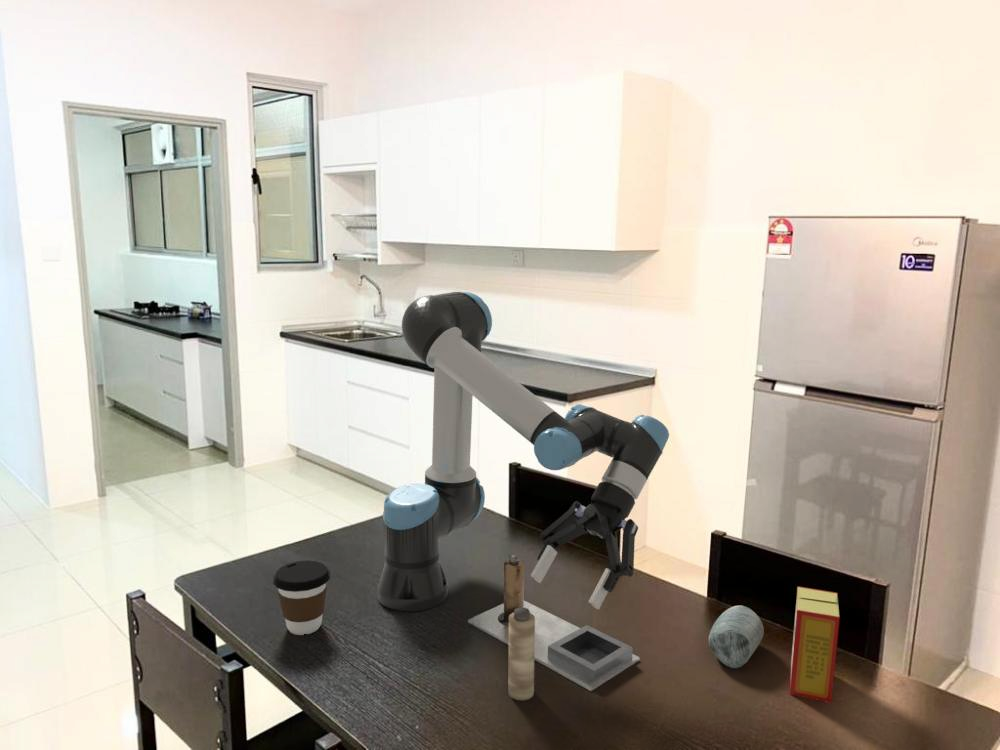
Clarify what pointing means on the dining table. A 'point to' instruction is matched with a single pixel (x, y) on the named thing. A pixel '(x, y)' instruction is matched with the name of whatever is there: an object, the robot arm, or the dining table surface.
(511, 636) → the birch leg peg
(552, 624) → the bolt plate
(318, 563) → the coffee cup
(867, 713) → the dining table surface
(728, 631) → the spool
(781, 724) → the dining table surface
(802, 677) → the baking soda box
